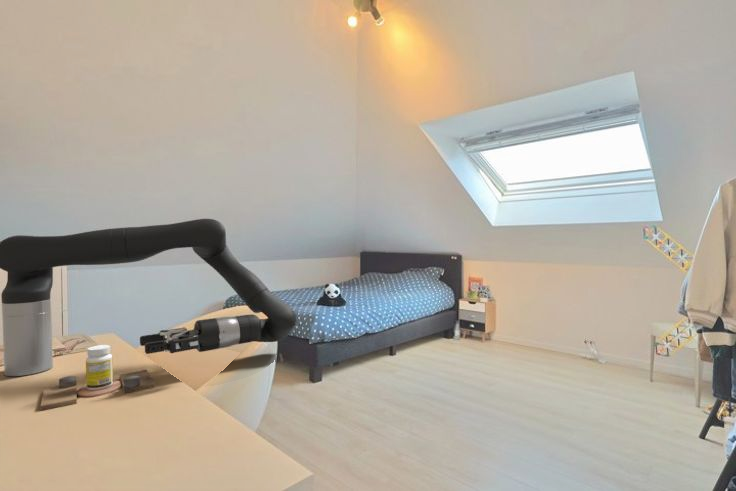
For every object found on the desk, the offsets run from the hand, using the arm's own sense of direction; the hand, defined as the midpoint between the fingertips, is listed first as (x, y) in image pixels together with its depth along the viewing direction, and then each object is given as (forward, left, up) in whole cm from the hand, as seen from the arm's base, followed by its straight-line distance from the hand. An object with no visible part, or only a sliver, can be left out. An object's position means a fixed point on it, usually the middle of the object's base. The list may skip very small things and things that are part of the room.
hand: (142, 344), depth 91 cm
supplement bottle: (0, -8, -8) cm, 11 cm away
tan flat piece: (0, -8, -8) cm, 11 cm away
